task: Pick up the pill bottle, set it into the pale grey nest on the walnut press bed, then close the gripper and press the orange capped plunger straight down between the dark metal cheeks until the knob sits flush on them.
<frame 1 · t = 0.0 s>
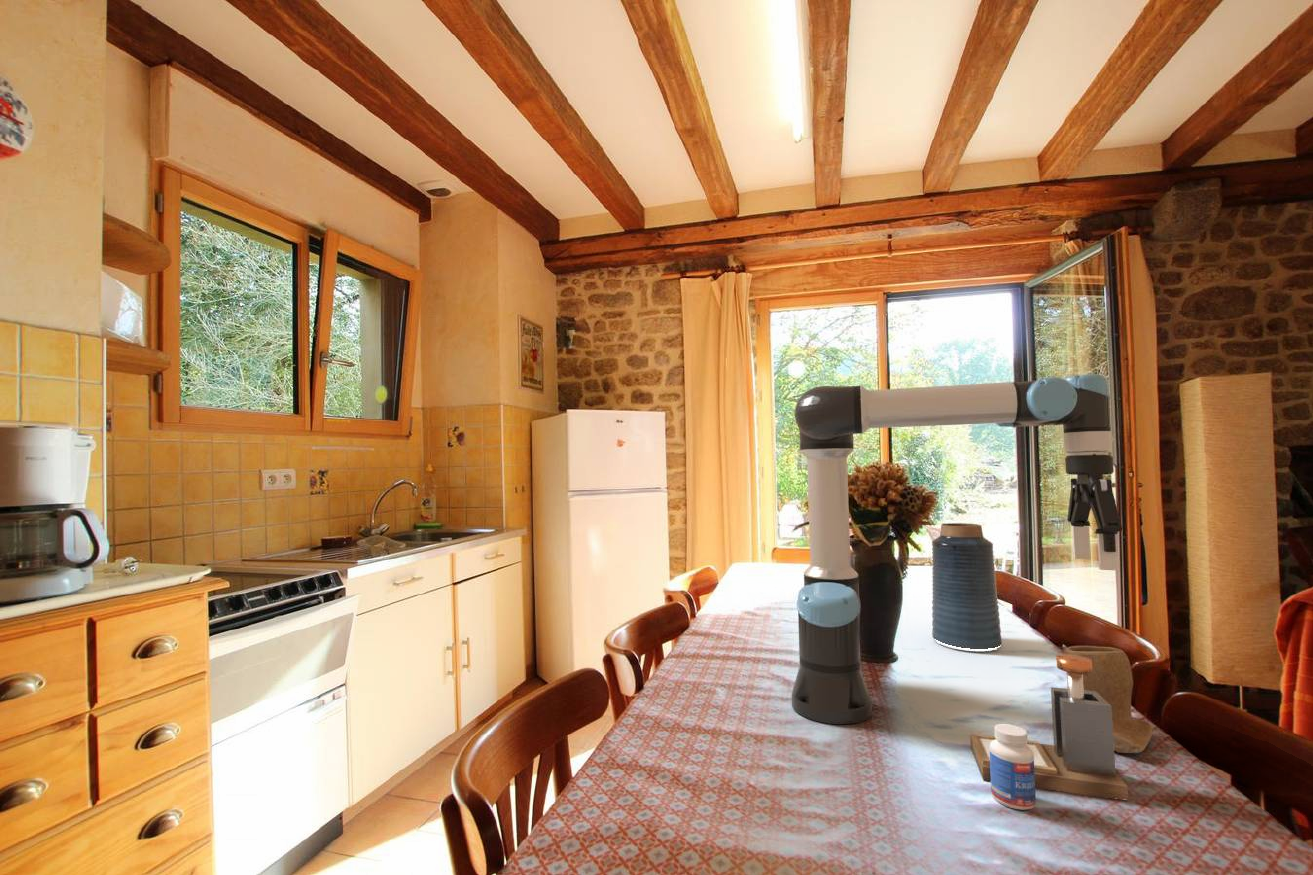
hand: (1094, 564, 112), 28 cm above the table, fingers open, 13 cm apart
orange capped plunger: (1076, 697, 88), point 12 cm above the table, slide at 0.0 cm
vase: (966, 644, 154), on the table
press frame: (1080, 776, 88), resting on press bed
pill bottle: (1013, 801, 82), on the table
tan suede boot: (1107, 737, 101), on the table
press bed: (1042, 771, 89), on the table
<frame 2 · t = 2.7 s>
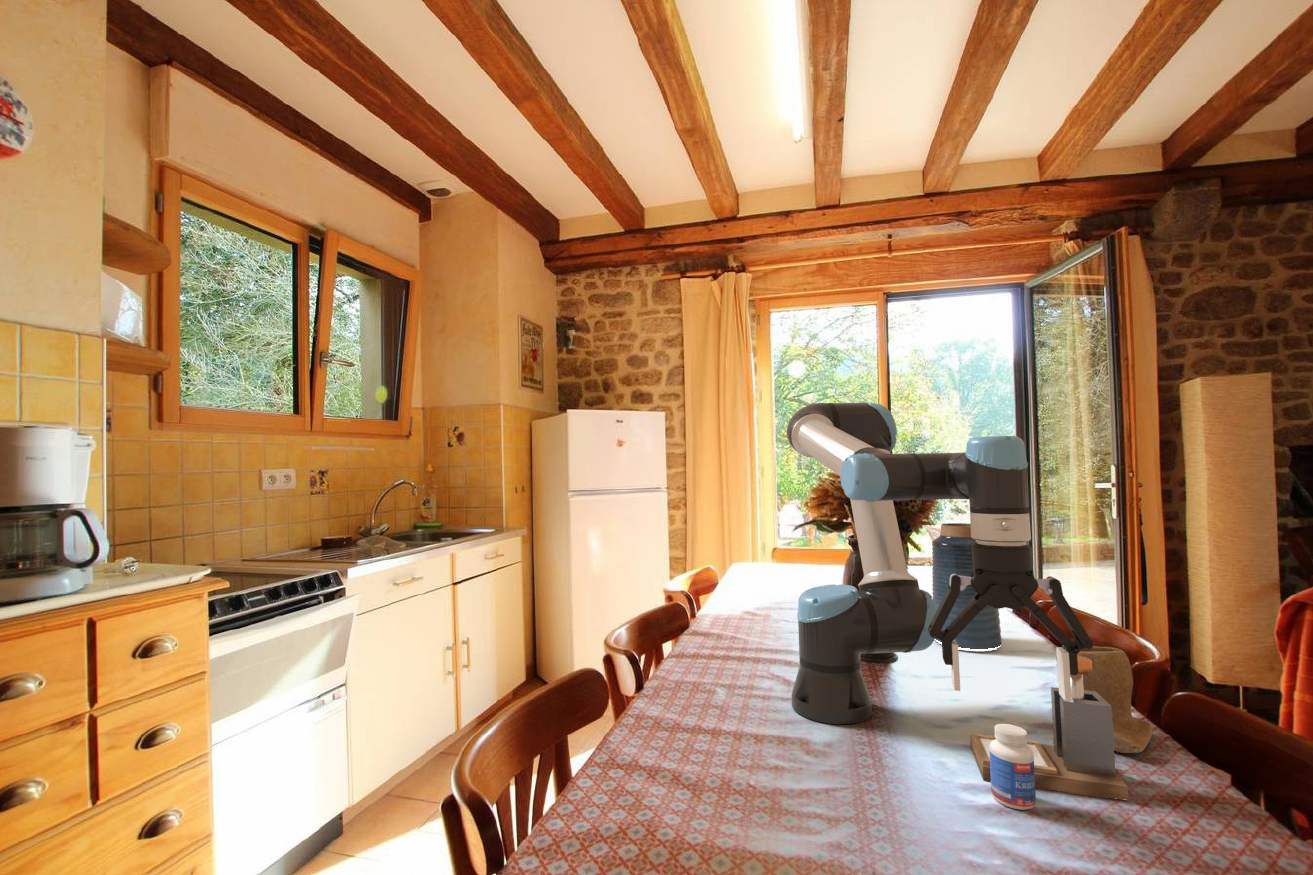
hand: (1009, 692, 83), 15 cm above the table, fingers open, 13 cm apart
nothing on the table moved.
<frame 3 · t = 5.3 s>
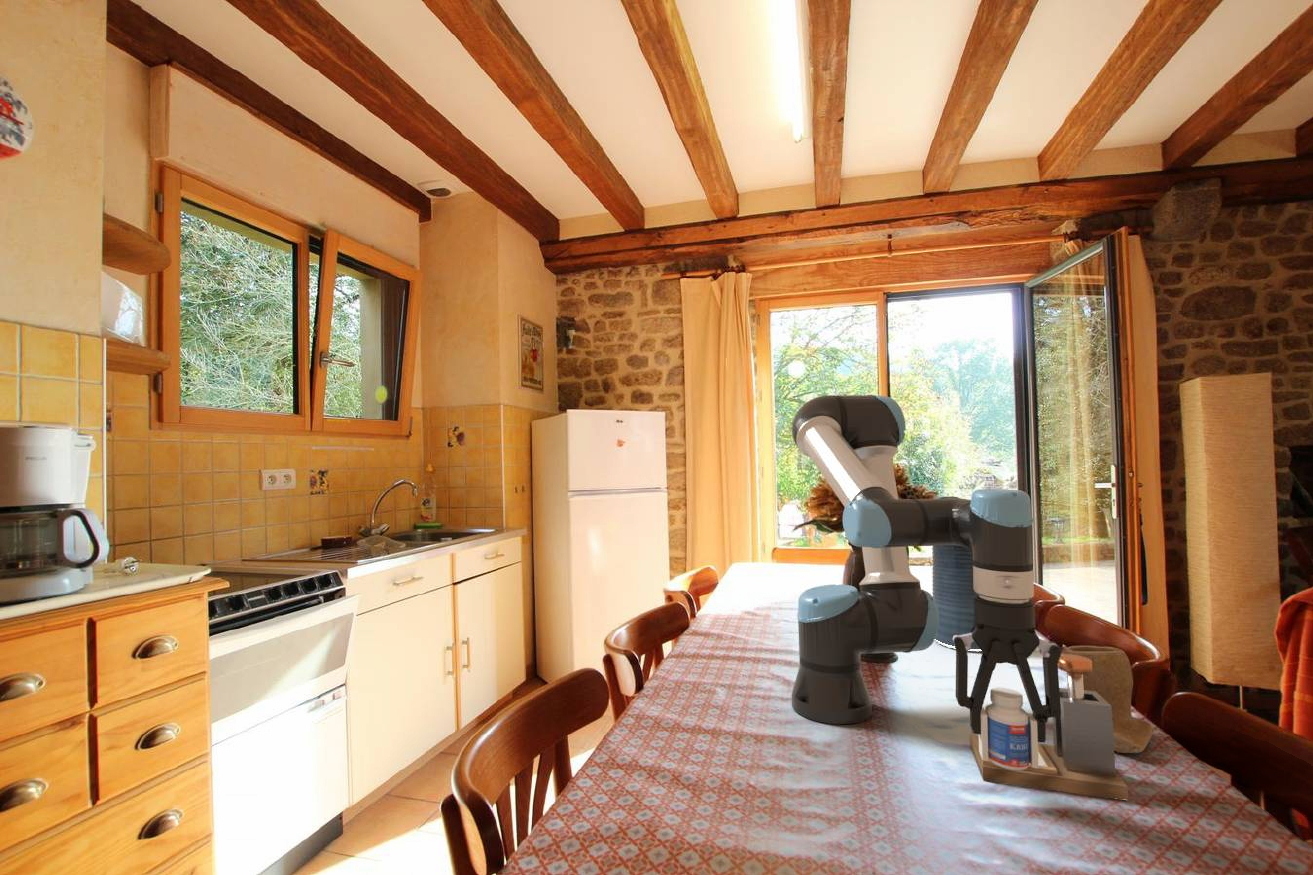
hand: (1007, 759, 83), 5 cm above the table, fingers closed on pill bottle, 5 cm apart
pill bottle: (1007, 762, 83), point 5 cm above the table, touching gripper
everything else where it was.
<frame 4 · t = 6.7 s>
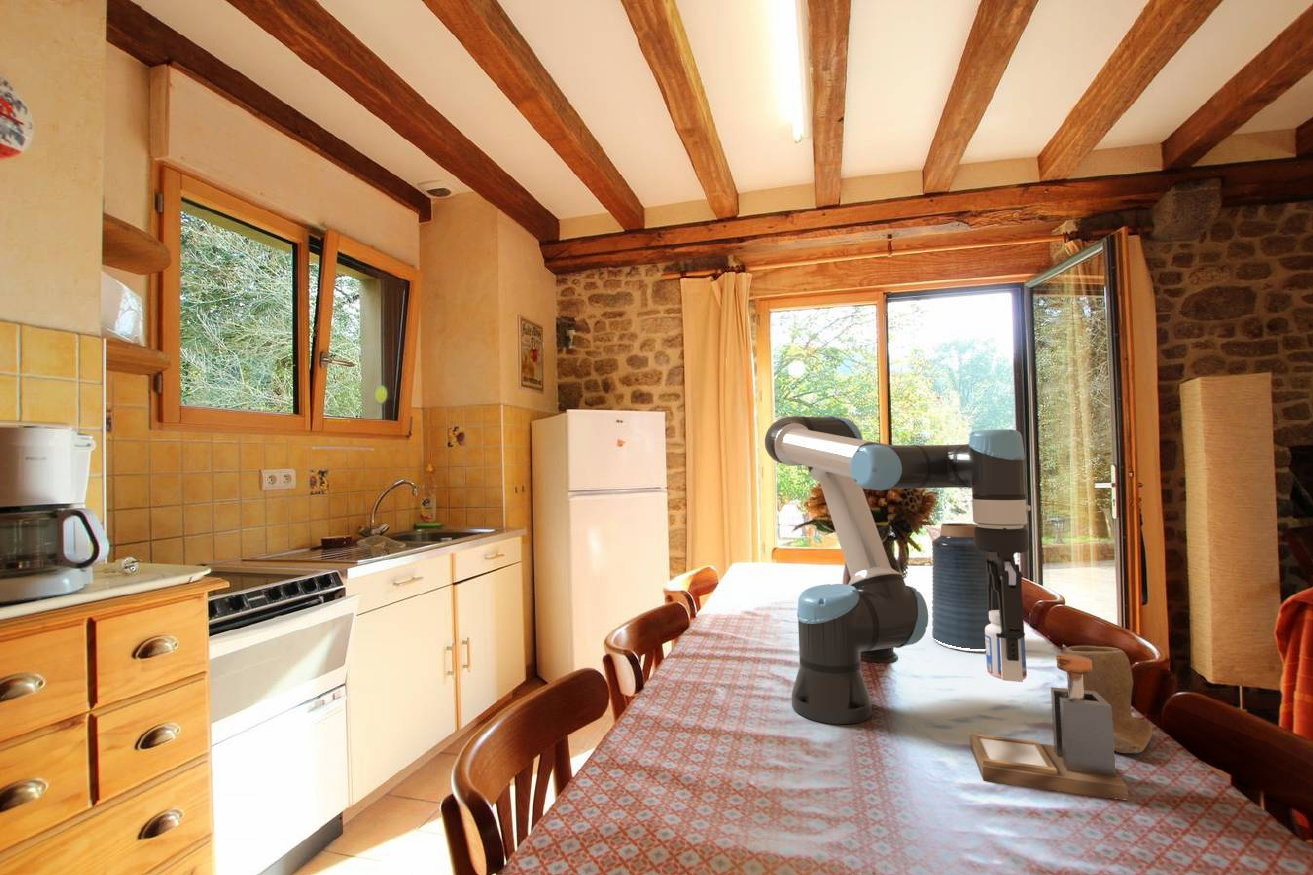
hand: (1007, 673, 91), 15 cm above the table, fingers closed on pill bottle, 5 cm apart
pill bottle: (1006, 676, 91), point 14 cm above the table, touching gripper
everything else where it was.
when the fingers open (4 cm above the table, at t = 8.6 s): pill bottle stays where it is, resting on press bed.
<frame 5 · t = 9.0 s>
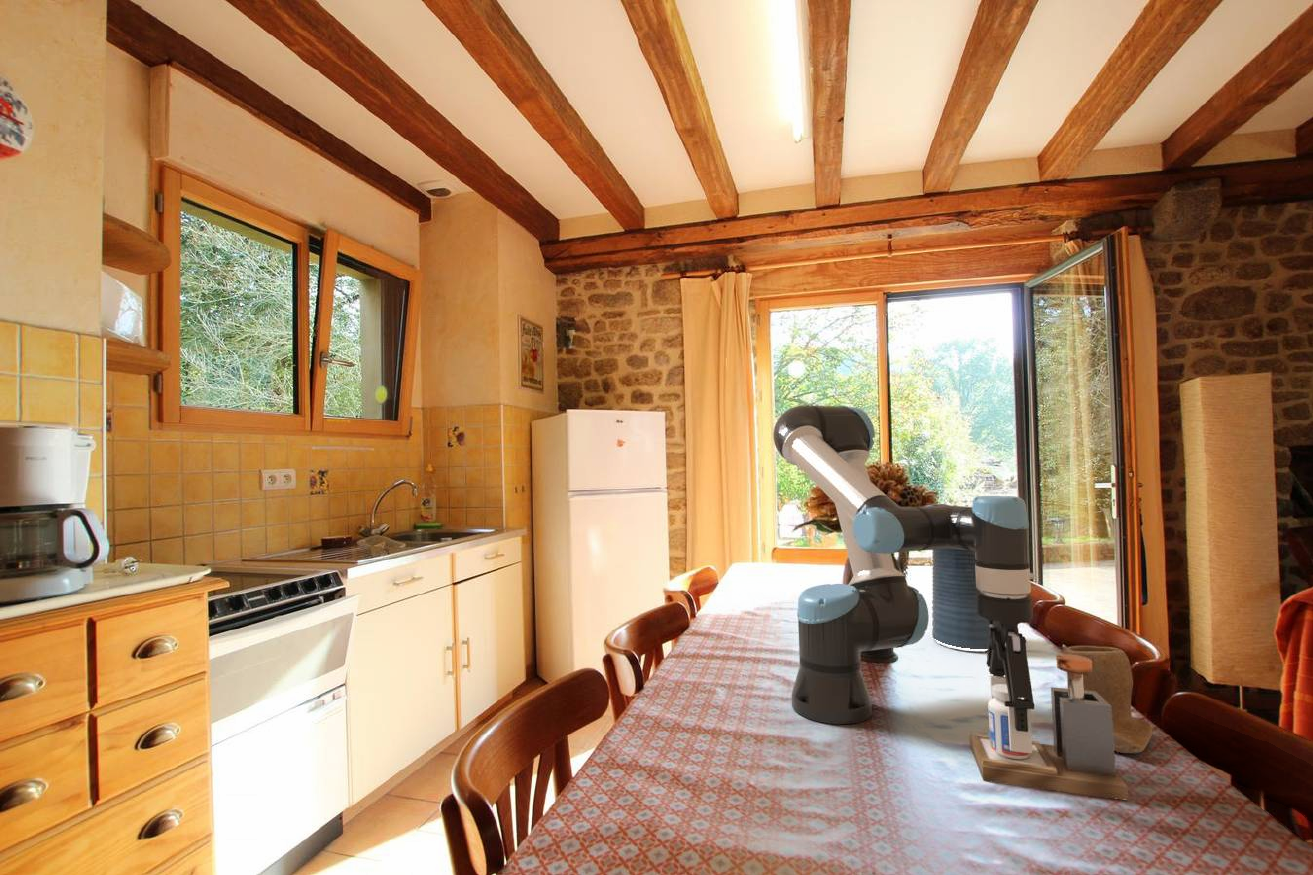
hand: (1010, 732, 91), 5 cm above the table, fingers open, 12 cm apart
pill bottle: (1010, 753, 91), point 2 cm above the table, touching press bed
everything else where it was.
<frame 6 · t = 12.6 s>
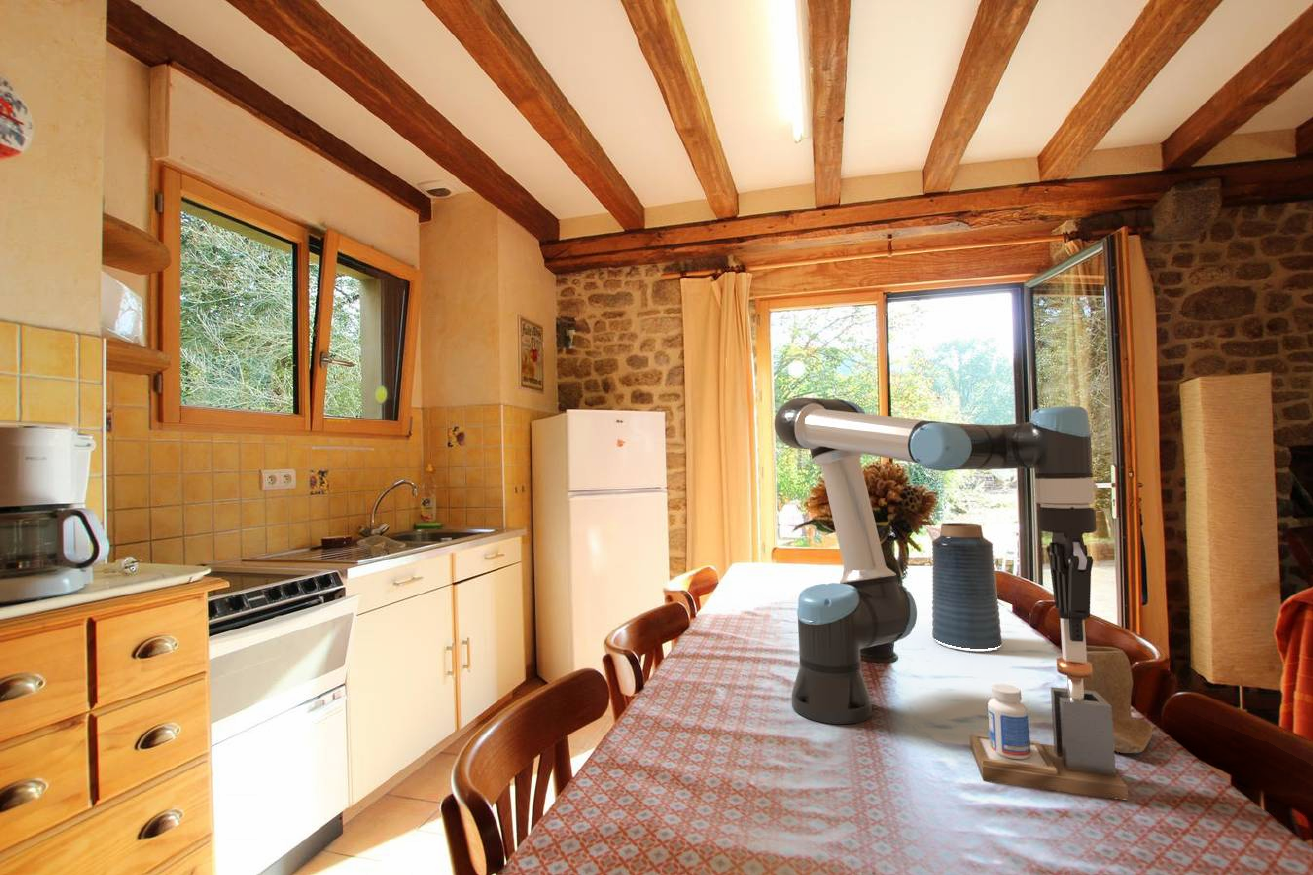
hand: (1074, 660, 88), 17 cm above the table, fingers closed
orange capped plunger: (1076, 700, 88), point 11 cm above the table, slide at 0.6 cm, touching gripper
everything else where it was.
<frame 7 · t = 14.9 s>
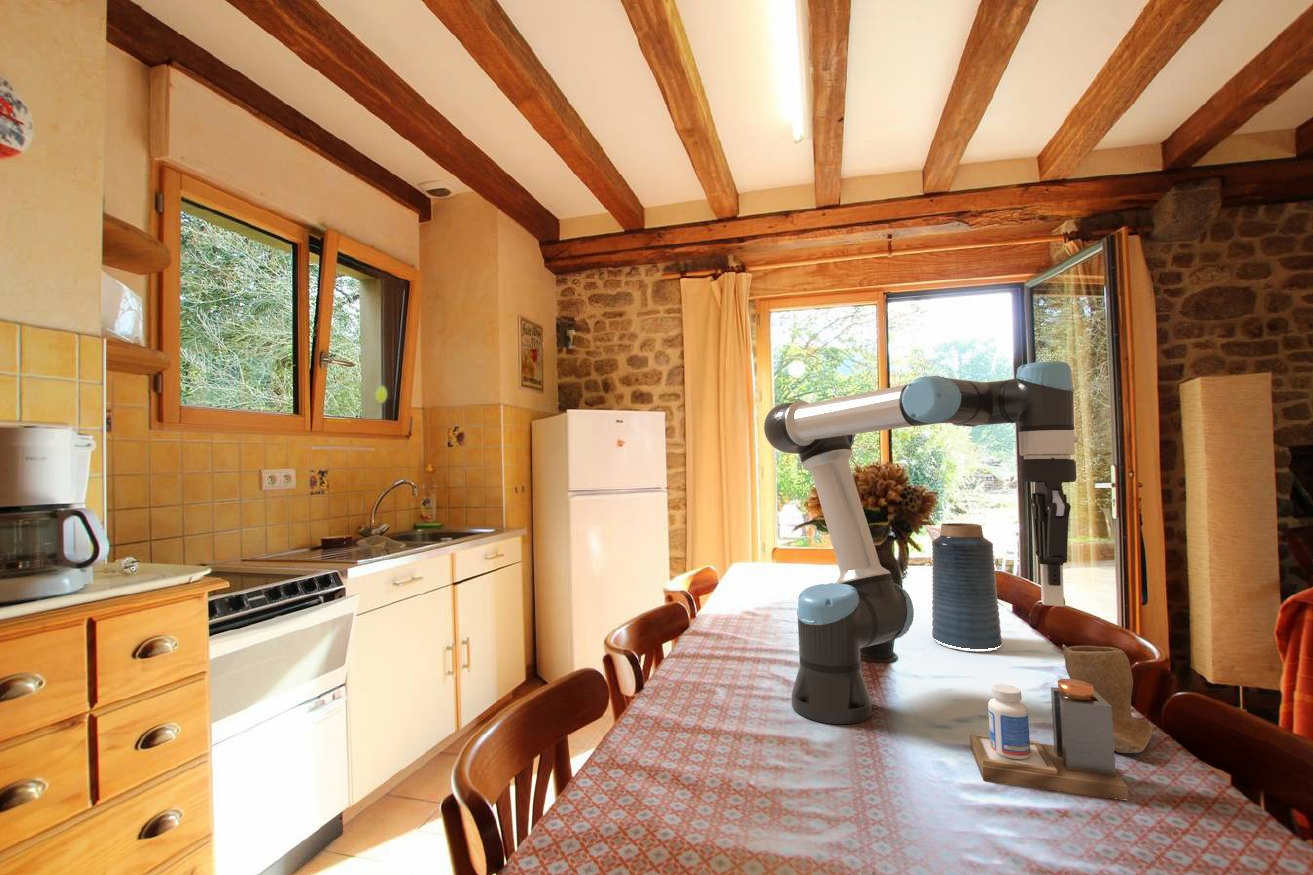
hand: (1052, 604, 93), 25 cm above the table, fingers closed
orange capped plunger: (1077, 722, 88), point 8 cm above the table, slide at 3.8 cm
everything else where it was.
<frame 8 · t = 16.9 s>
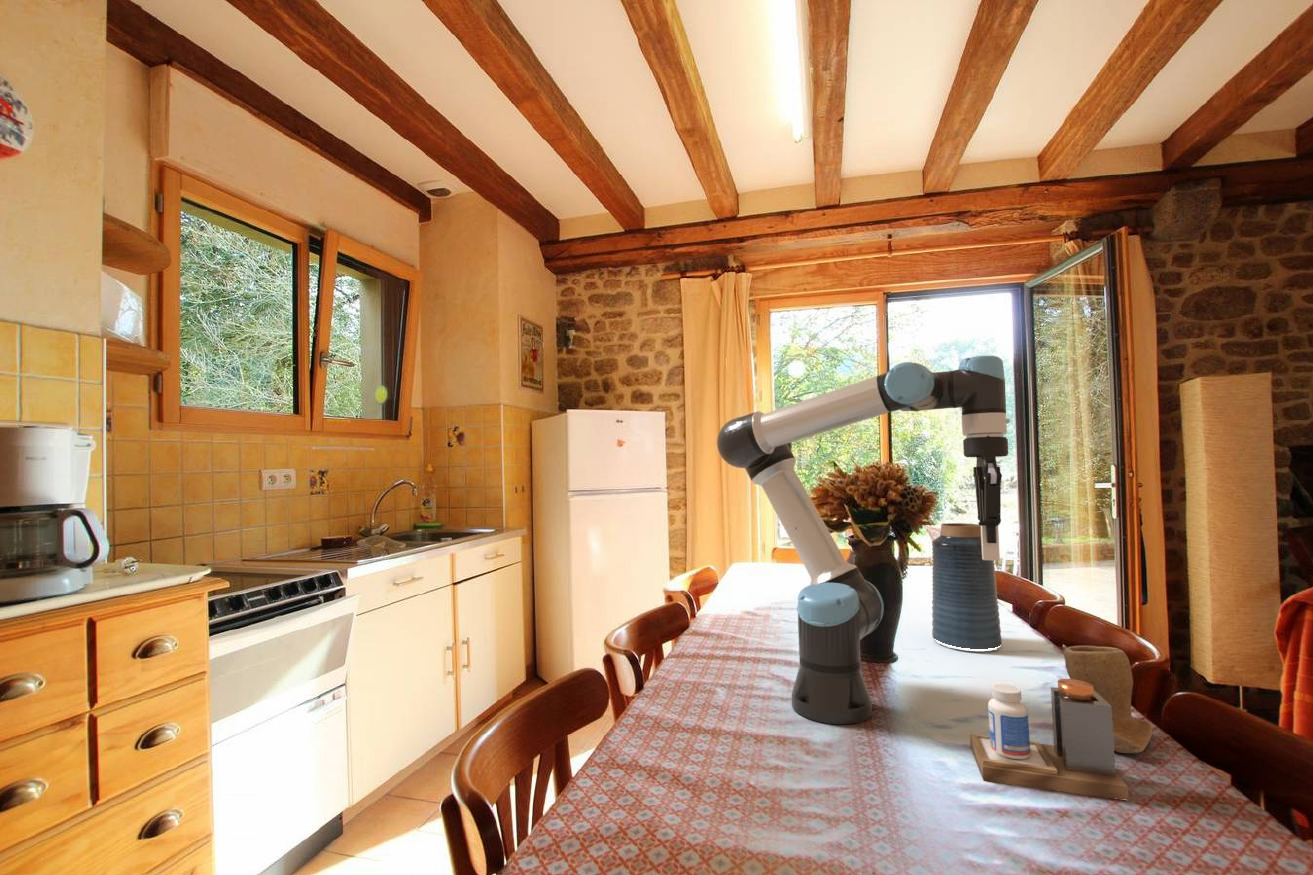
hand: (990, 559, 110), 29 cm above the table, fingers closed
nothing on the table moved.
at the end: pill bottle inside the target area on the press bed (0.3 cm from its centre), point 2.1 cm above the press bed's base; pill bottle tilted 0°; orange capped plunger slide at 3.8 cm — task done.
